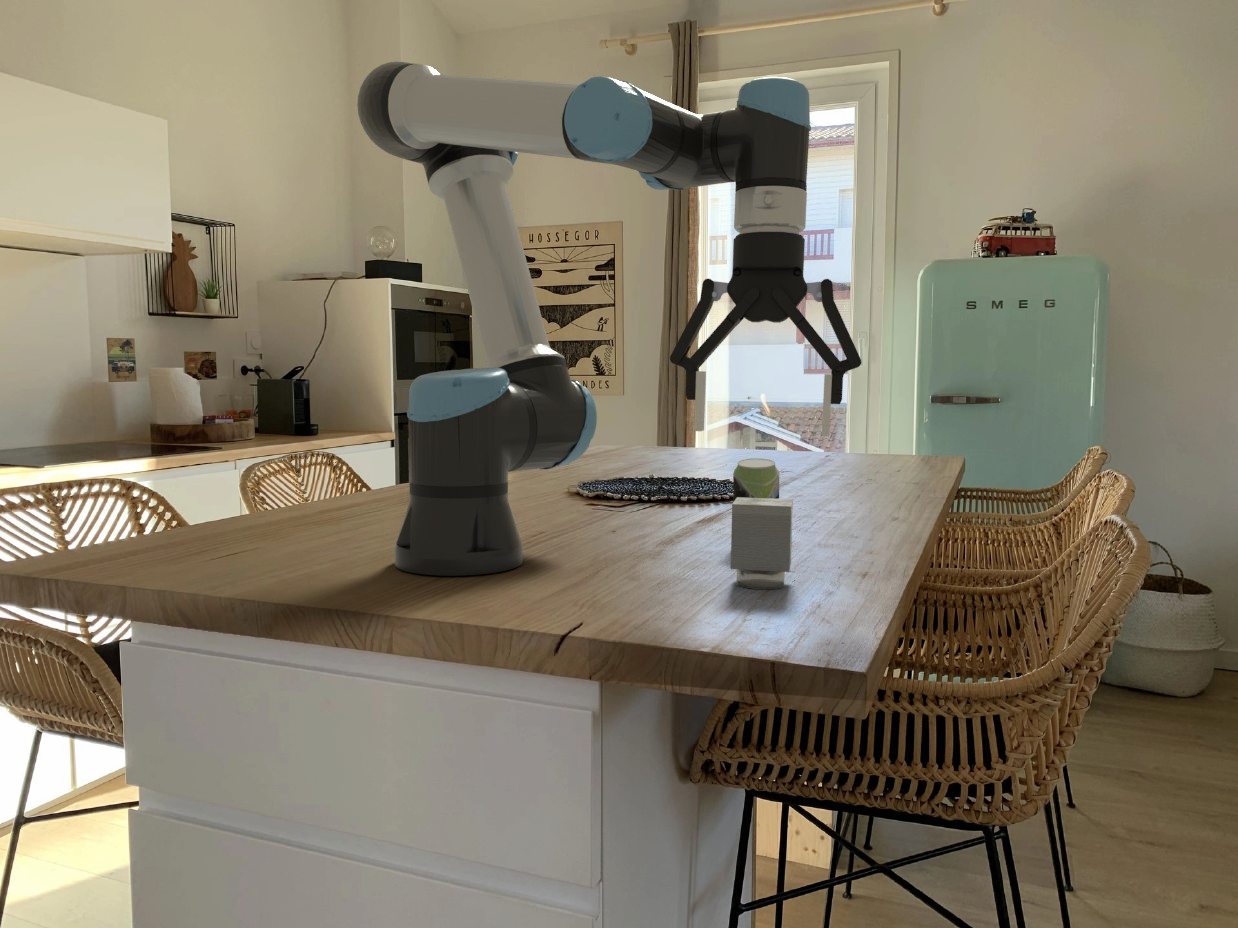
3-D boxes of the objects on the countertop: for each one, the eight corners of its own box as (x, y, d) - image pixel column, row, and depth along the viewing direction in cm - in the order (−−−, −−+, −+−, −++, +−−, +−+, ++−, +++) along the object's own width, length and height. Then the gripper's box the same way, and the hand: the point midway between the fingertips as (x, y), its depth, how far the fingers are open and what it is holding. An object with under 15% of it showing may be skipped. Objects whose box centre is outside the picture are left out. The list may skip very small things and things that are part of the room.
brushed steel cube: (730, 568, 99) (732, 504, 99) (735, 558, 105) (737, 497, 105) (789, 571, 98) (791, 506, 97) (791, 560, 104) (792, 499, 103)
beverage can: (777, 544, 127) (779, 457, 126) (780, 554, 120) (783, 462, 119) (731, 543, 128) (732, 456, 127) (732, 553, 121) (734, 461, 120)
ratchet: (734, 587, 100) (735, 535, 100) (746, 558, 117) (747, 513, 116) (783, 590, 99) (784, 538, 99) (788, 560, 116) (789, 515, 115)
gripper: (647, 229, 98) (642, 430, 100) (893, 227, 92) (882, 439, 95) (659, 239, 105) (654, 426, 107) (888, 238, 100) (878, 434, 102)
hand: (761, 433), depth 101 cm, fingers open, 13 cm apart
